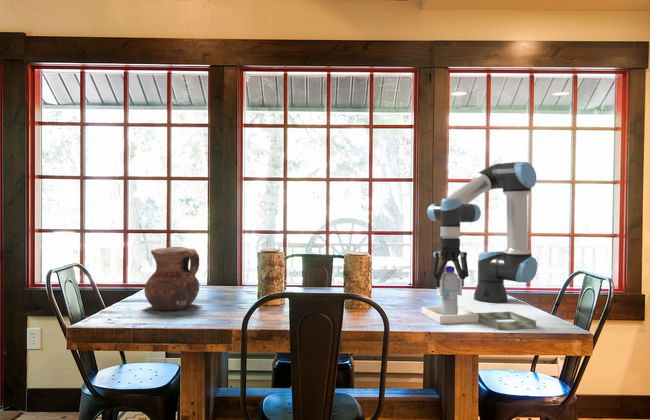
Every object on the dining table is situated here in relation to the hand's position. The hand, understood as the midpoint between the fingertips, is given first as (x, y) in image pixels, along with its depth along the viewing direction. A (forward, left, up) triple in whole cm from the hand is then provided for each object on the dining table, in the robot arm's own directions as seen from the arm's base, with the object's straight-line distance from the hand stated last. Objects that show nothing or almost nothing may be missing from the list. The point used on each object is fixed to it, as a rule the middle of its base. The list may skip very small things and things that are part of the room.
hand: (449, 295), depth 179 cm
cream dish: (0, 0, -9) cm, 9 cm away
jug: (+108, -38, -9) cm, 115 cm away
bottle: (0, 0, -9) cm, 9 cm away
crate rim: (-17, +11, -9) cm, 22 cm away
